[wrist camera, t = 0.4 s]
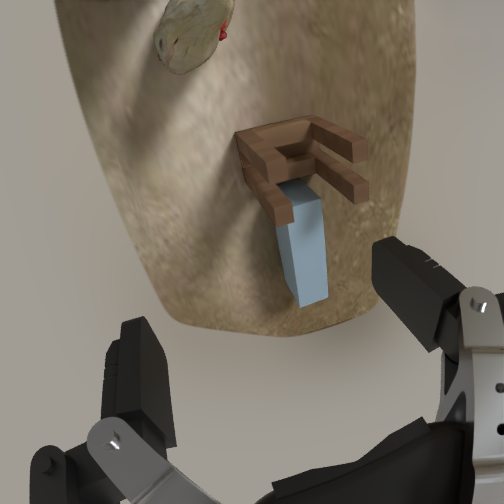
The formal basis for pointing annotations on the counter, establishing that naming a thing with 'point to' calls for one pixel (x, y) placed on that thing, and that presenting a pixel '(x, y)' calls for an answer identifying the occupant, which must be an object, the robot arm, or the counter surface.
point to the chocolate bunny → (191, 32)
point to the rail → (303, 245)
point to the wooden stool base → (299, 161)
